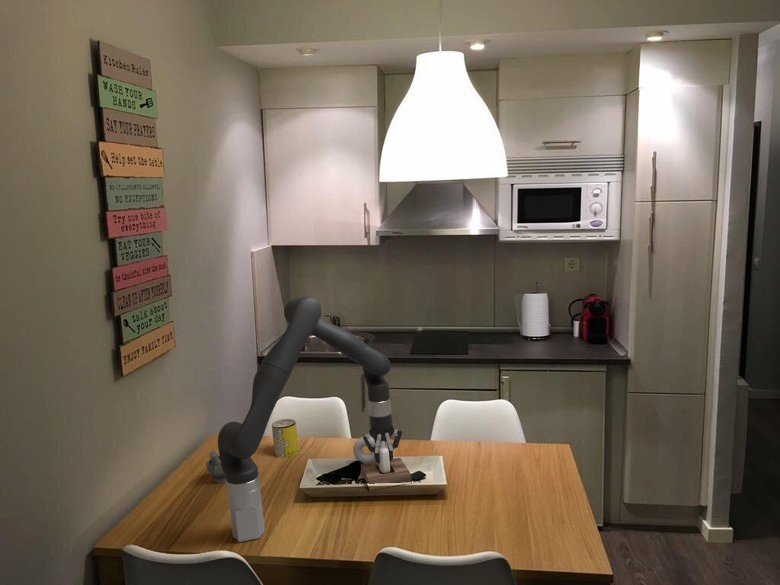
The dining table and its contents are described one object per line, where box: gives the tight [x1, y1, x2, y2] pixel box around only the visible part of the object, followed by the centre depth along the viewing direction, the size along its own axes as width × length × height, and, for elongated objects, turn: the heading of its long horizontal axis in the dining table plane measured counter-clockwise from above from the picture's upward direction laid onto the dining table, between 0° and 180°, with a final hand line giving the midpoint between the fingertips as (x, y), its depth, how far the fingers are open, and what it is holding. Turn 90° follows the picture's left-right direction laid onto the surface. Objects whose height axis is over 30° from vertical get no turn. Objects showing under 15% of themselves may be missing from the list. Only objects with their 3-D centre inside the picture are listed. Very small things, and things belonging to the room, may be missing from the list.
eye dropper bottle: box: [378, 441, 390, 474], centre depth 225 cm, size 4×6×12 cm
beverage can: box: [271, 418, 300, 459], centre depth 254 cm, size 9×9×12 cm
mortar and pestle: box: [205, 450, 226, 484], centre depth 235 cm, size 11×9×12 cm
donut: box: [352, 436, 376, 464], centre depth 239 cm, size 10×4×10 cm, turn 89°
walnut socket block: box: [360, 457, 412, 484], centre depth 226 cm, size 14×14×4 cm
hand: (384, 461), depth 225 cm, fingers closed on eye dropper bottle, 3 cm apart
